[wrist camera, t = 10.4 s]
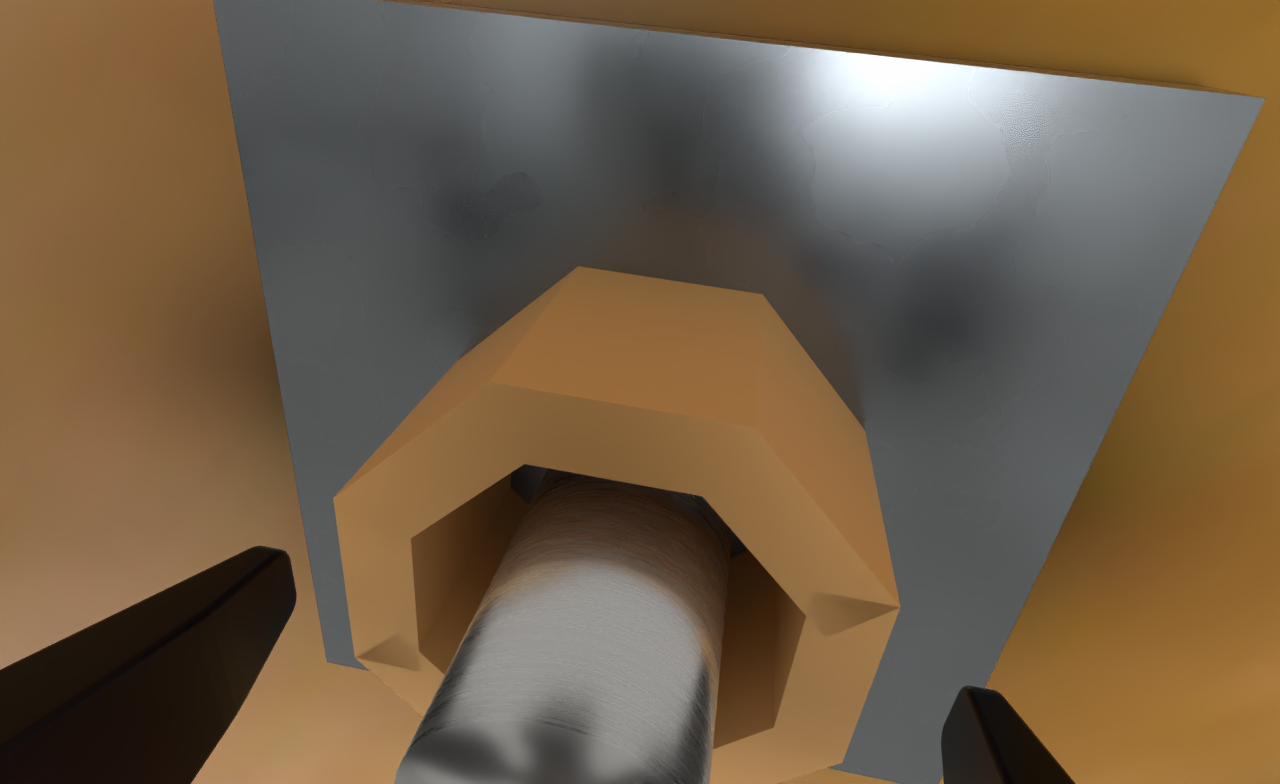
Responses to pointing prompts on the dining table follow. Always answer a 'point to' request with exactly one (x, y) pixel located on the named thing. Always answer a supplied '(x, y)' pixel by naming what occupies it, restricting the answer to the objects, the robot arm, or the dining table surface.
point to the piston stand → (718, 257)
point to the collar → (650, 456)
